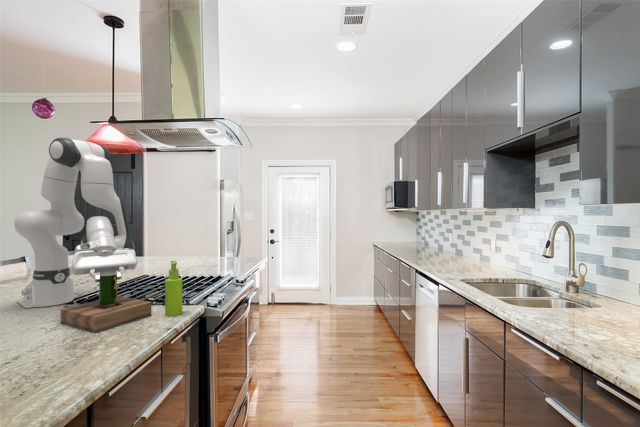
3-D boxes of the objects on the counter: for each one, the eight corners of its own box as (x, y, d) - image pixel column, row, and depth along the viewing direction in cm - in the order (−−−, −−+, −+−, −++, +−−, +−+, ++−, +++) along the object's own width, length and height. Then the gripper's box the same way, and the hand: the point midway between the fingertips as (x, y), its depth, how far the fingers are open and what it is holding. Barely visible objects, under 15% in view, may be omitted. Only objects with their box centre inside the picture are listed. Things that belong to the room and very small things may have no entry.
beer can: (99, 308, 117) (99, 273, 117) (99, 304, 121) (99, 271, 121) (117, 305, 120) (117, 272, 120) (117, 302, 124) (116, 270, 124)
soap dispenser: (165, 317, 123) (165, 262, 123) (164, 312, 129) (164, 260, 129) (183, 315, 126) (183, 261, 125) (181, 310, 132) (181, 259, 131)
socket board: (60, 323, 117) (60, 309, 116) (117, 308, 134) (117, 295, 134) (95, 333, 108) (95, 317, 108) (151, 315, 125) (151, 302, 125)
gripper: (132, 252, 136) (139, 280, 129) (69, 257, 122) (72, 289, 115) (135, 242, 132) (142, 270, 125) (70, 246, 119) (74, 278, 112)
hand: (108, 279), depth 120 cm, fingers closed on beer can, 5 cm apart
